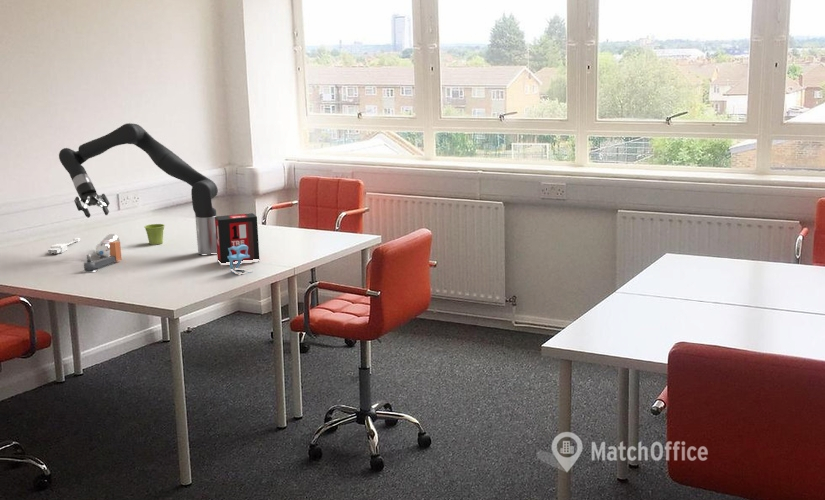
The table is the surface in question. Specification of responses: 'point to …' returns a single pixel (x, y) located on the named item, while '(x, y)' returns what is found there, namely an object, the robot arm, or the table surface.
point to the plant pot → (155, 233)
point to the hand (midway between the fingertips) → (98, 215)
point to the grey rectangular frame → (101, 267)
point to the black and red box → (236, 235)
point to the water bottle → (105, 245)
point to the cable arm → (114, 256)
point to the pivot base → (89, 262)
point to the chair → (237, 255)
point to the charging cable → (61, 247)
